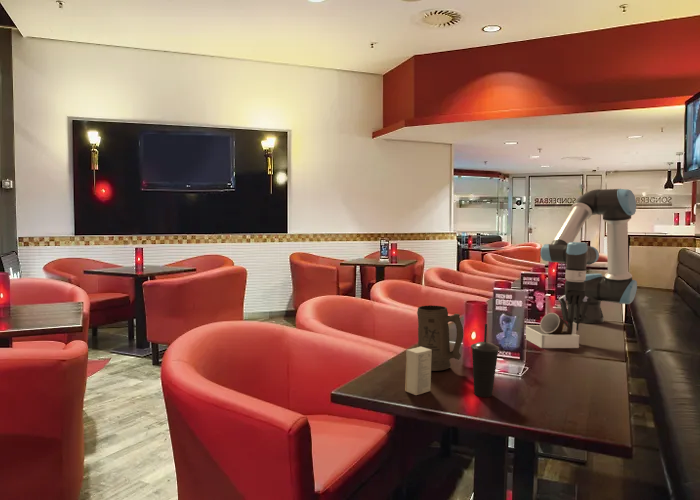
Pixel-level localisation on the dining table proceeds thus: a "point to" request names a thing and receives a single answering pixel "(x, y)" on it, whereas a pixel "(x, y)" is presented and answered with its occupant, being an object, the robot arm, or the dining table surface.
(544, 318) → the dark brown mug
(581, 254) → the robot arm
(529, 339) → the cream u-shaped bracket
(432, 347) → the beer stein
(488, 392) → the drinking cup
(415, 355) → the skincare box
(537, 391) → the dining table surface
